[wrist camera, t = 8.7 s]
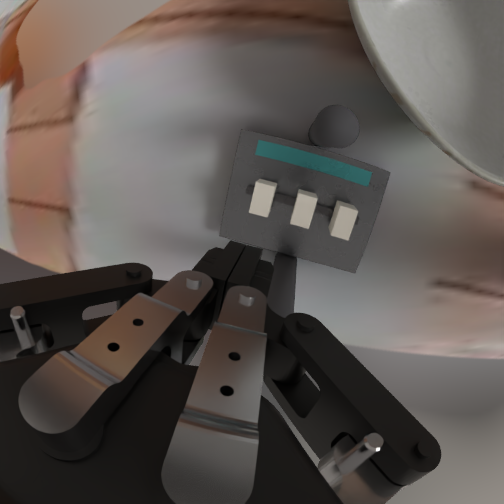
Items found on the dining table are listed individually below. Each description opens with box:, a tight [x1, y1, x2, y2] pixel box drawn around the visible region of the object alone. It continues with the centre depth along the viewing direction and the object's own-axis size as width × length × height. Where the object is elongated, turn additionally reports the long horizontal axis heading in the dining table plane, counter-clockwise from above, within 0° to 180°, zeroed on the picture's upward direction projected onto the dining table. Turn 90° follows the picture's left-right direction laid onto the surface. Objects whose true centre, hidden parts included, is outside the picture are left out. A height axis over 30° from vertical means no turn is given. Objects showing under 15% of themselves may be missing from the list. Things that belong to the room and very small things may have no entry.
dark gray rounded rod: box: [308, 105, 359, 148], centre depth 21 cm, size 3×3×14 cm
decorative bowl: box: [348, 0, 504, 186], centre depth 15 cm, size 27×27×12 cm
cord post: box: [267, 252, 297, 318], centre depth 27 cm, size 3×3×14 cm
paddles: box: [249, 179, 358, 240], centre depth 26 cm, size 10×3×2 cm, turn 77°
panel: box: [219, 129, 390, 273], centre depth 29 cm, size 16×12×3 cm
